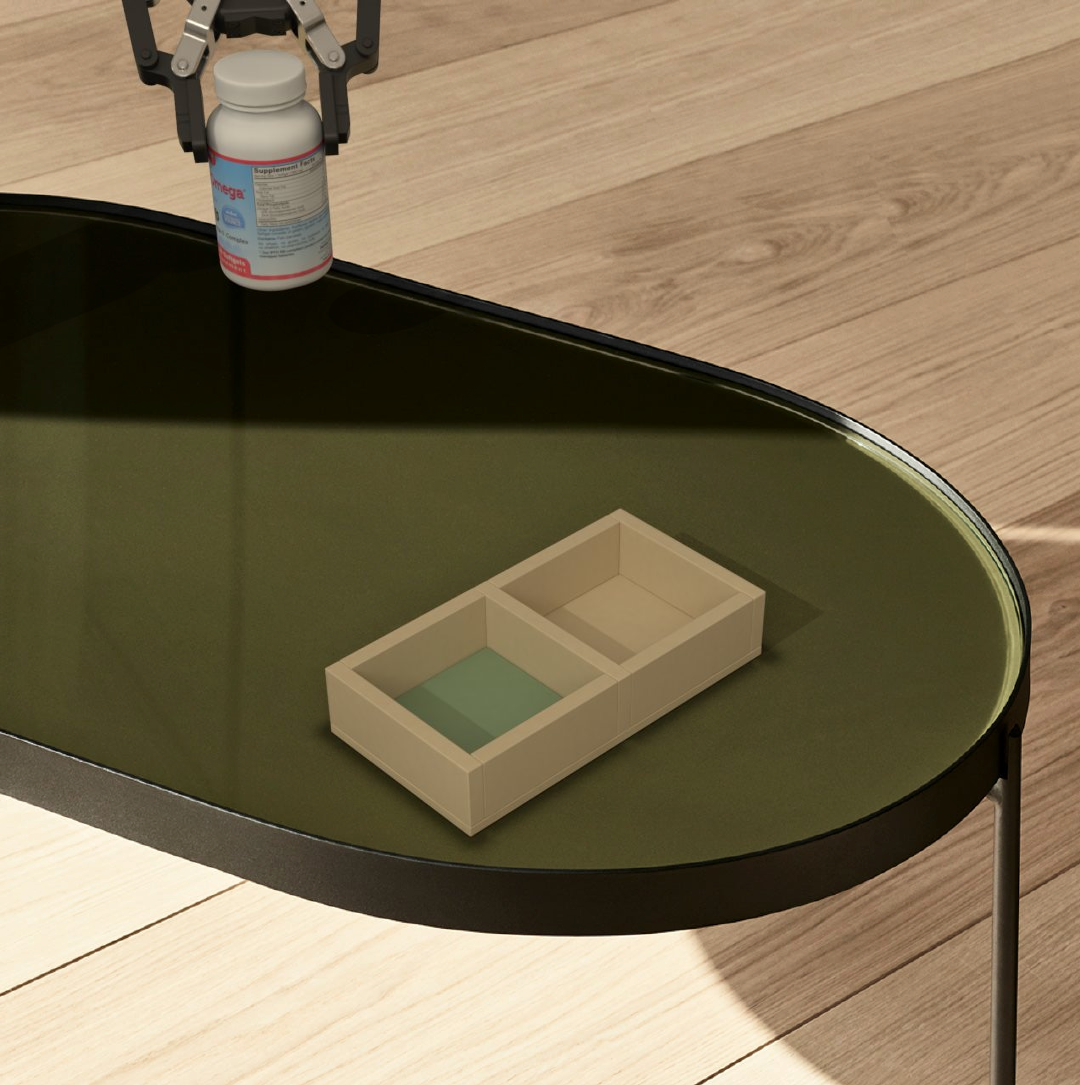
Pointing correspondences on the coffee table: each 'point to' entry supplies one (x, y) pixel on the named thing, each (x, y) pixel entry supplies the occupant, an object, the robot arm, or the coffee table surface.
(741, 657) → the holder
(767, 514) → the coffee table surface
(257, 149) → the pill bottle
